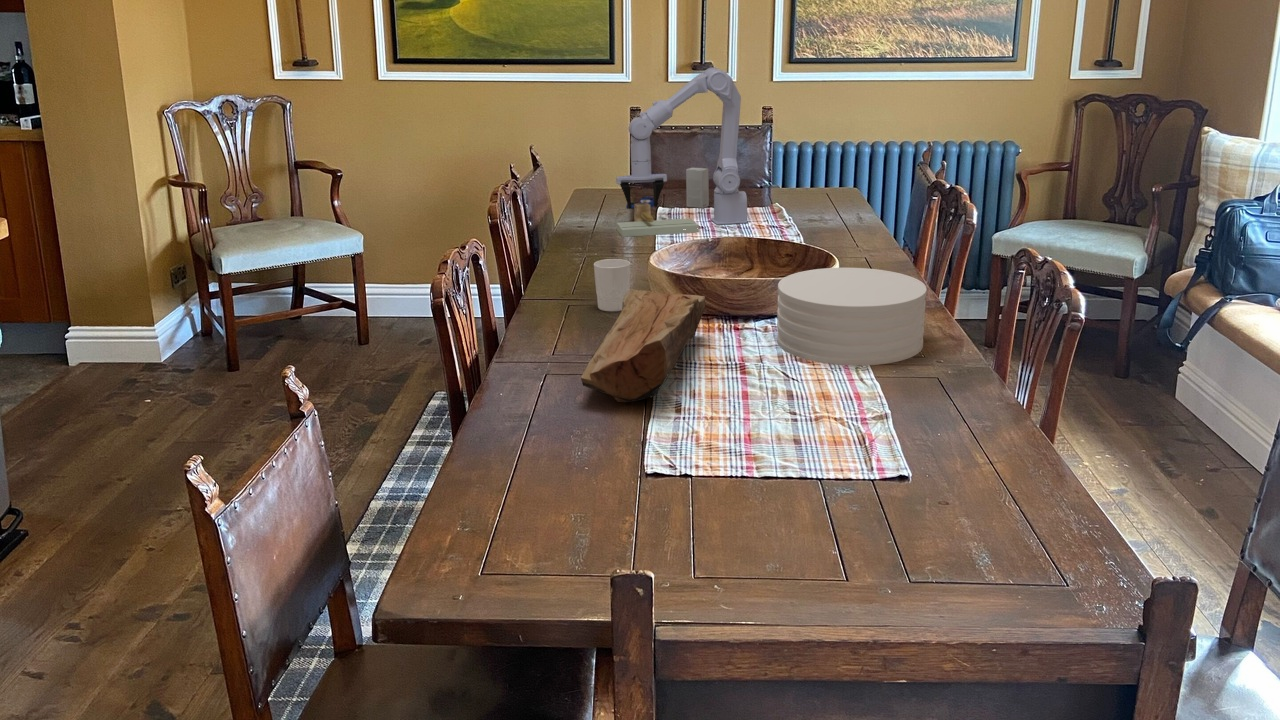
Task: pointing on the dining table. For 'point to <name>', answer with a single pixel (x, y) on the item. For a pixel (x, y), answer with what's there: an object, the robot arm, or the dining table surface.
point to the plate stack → (851, 316)
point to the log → (643, 344)
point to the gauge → (642, 212)
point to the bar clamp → (644, 200)
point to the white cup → (611, 283)
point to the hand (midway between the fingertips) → (642, 207)
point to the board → (657, 227)
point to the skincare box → (697, 187)
